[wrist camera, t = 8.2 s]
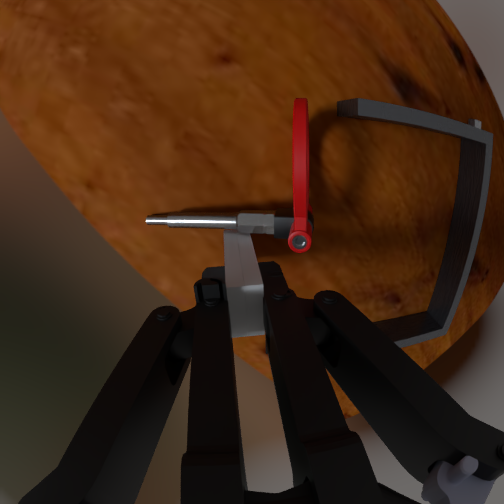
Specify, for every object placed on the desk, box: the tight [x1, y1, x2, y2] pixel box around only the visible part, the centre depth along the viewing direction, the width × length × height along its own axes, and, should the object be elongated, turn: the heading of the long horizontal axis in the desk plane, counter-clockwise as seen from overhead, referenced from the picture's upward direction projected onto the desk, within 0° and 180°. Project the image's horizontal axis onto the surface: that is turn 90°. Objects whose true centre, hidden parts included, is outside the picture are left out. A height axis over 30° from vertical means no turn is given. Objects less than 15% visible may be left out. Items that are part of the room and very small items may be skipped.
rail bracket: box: [337, 98, 493, 348], centre depth 19 cm, size 21×14×3 cm, turn 1°
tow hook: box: [146, 98, 314, 253], centre depth 15 cm, size 7×10×7 cm
